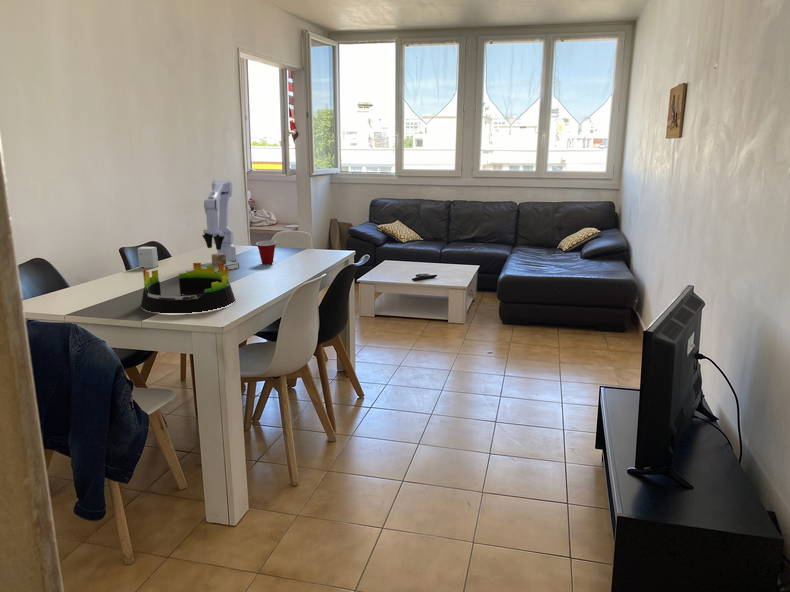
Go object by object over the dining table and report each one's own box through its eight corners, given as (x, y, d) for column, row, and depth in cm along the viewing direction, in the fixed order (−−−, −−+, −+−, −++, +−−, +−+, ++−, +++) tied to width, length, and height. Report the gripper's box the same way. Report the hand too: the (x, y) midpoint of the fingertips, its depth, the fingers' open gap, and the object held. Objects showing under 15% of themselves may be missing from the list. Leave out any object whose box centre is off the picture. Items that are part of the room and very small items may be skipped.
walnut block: (220, 262, 323) (219, 253, 322) (226, 263, 320) (225, 254, 319) (212, 264, 319) (211, 254, 318) (218, 265, 316) (217, 255, 315)
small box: (158, 266, 326) (157, 246, 323) (153, 268, 321) (151, 248, 318) (144, 266, 327) (142, 246, 324) (138, 268, 321) (137, 248, 319)
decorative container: (123, 315, 234) (119, 276, 231) (163, 292, 270) (160, 259, 266) (218, 317, 232) (216, 278, 229) (246, 294, 268) (244, 260, 265)
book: (225, 265, 330) (224, 260, 329) (239, 268, 323) (239, 263, 322) (199, 270, 318) (199, 264, 317) (213, 273, 311) (213, 267, 310)
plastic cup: (252, 264, 331) (251, 242, 329) (264, 261, 341) (263, 240, 338) (270, 266, 327) (269, 244, 325) (281, 263, 337) (280, 241, 334)
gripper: (197, 222, 317) (199, 248, 321) (214, 224, 309) (216, 251, 312) (209, 220, 323) (210, 246, 326) (226, 223, 314) (227, 249, 317)
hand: (214, 248), depth 319 cm, fingers open, 7 cm apart
